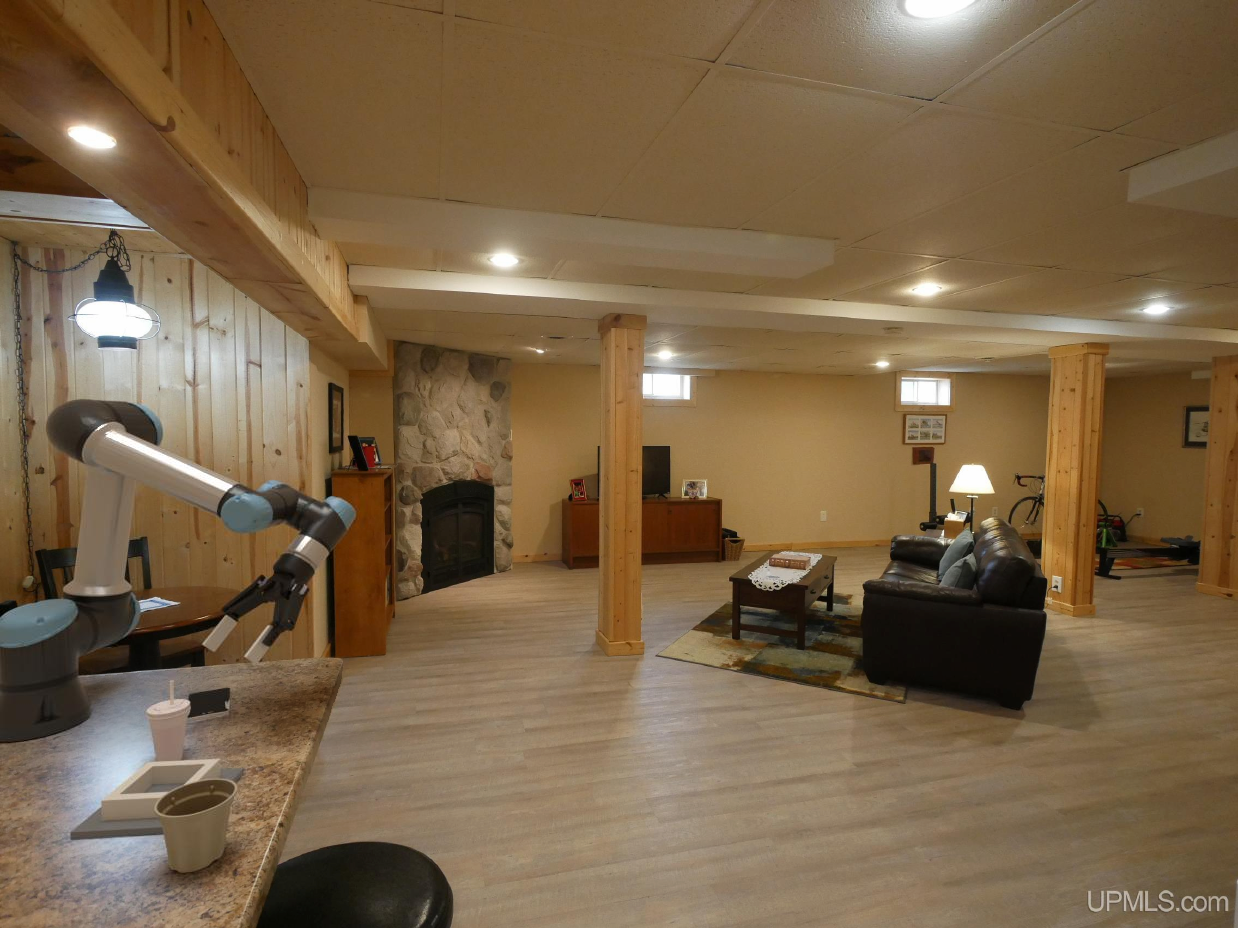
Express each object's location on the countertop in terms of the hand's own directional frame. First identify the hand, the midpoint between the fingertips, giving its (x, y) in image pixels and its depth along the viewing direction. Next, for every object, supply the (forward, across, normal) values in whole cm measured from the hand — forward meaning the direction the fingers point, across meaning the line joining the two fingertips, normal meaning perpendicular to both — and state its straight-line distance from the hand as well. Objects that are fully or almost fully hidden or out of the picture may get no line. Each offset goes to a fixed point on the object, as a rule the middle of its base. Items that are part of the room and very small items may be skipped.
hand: (228, 654), depth 120 cm
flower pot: (+27, -31, +4) cm, 42 cm away
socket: (+24, -13, +1) cm, 27 cm away
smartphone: (+8, +18, -16) cm, 25 cm away
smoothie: (+19, 0, -4) cm, 19 cm away
